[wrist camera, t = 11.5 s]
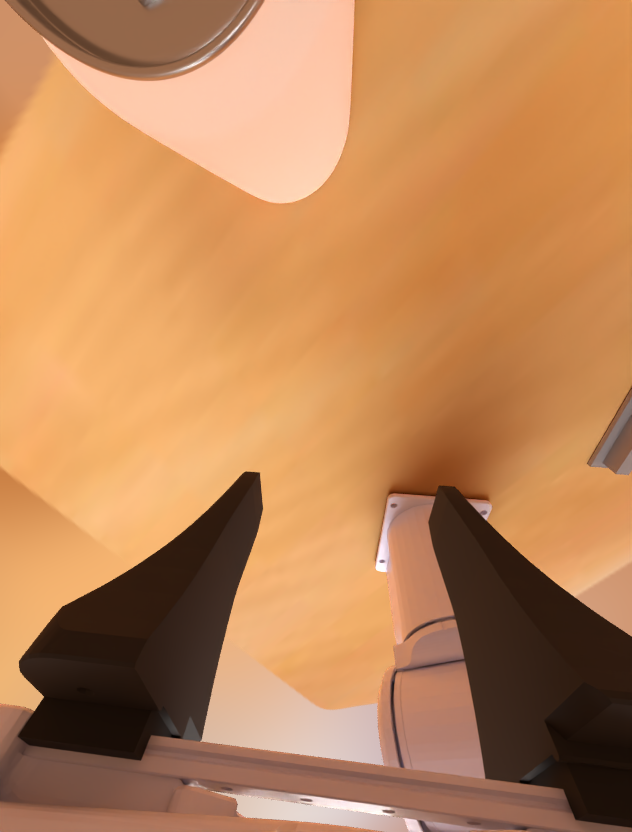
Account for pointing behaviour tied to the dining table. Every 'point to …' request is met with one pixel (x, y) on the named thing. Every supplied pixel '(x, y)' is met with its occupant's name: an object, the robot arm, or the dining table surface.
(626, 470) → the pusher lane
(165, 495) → the dining table surface
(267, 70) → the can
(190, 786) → the robot arm
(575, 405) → the dining table surface
